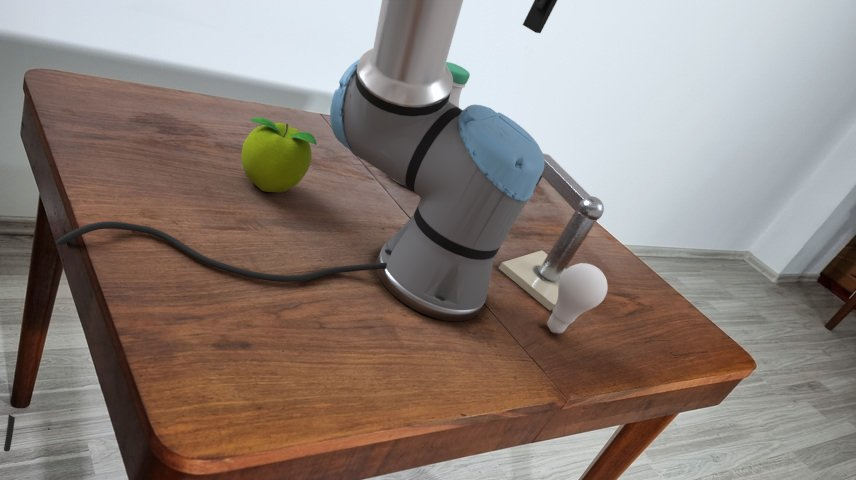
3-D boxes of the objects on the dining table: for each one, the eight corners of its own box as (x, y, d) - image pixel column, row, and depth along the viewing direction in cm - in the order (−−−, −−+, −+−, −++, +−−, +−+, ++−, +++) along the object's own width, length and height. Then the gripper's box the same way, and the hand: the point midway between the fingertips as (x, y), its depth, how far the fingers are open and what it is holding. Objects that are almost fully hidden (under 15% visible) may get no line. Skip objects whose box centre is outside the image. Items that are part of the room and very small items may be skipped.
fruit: (286, 213, 96) (309, 149, 90) (224, 184, 96) (243, 118, 91) (306, 188, 104) (329, 128, 98) (249, 161, 104) (268, 99, 98)
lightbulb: (579, 339, 98) (624, 278, 92) (559, 351, 93) (604, 287, 87) (545, 311, 100) (586, 250, 94) (524, 322, 96) (565, 258, 90)
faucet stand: (549, 310, 101) (553, 304, 100) (498, 268, 106) (501, 262, 105) (587, 294, 109) (591, 288, 109) (538, 255, 114) (542, 250, 113)
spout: (563, 283, 106) (613, 207, 99) (545, 281, 105) (595, 204, 97) (512, 222, 117) (554, 150, 110) (495, 219, 116) (537, 146, 108)
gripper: (616, -138, 91) (528, 37, 104) (655, -116, 100) (569, 42, 113) (571, -157, 94) (490, 14, 107) (612, -134, 104) (534, 21, 116)
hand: (531, 28), depth 110 cm, fingers closed
